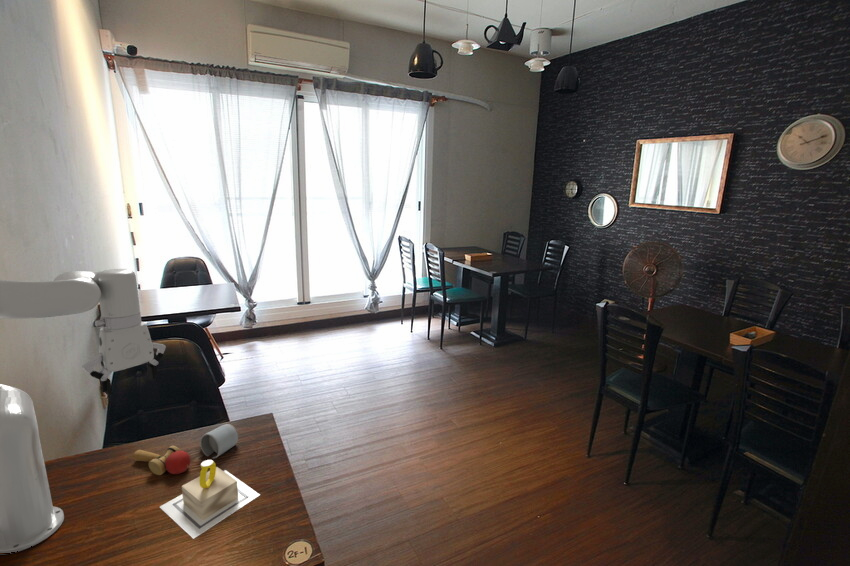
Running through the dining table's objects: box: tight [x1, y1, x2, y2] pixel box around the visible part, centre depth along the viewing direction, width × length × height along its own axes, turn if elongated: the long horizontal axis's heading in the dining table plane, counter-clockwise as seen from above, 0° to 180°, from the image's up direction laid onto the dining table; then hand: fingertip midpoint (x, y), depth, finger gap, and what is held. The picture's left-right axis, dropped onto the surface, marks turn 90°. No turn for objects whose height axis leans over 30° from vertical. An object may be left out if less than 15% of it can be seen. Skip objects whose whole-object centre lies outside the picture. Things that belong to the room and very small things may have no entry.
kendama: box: [132, 445, 191, 476], centre depth 115 cm, size 8×6×18 cm
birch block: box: [181, 466, 238, 520], centre depth 103 cm, size 9×9×5 cm
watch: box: [199, 459, 217, 488], centre depth 102 cm, size 6×3×6 cm, turn 4°
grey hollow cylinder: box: [199, 423, 240, 459], centre depth 123 cm, size 11×8×8 cm
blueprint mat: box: [159, 469, 261, 540], centre depth 104 cm, size 17×16×1 cm
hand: (130, 386), depth 102 cm, fingers open, 9 cm apart
